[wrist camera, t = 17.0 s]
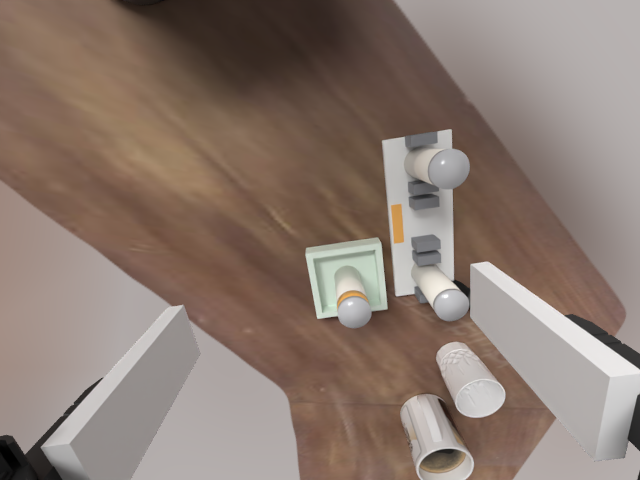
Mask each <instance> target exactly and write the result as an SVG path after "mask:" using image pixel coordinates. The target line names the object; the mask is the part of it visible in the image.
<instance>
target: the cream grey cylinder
mask: <svg viewBox="0 0 640 480" xmlns="http://www.w3.org/2000/svg"><path fill="white" fill-rule="evenodd" d="M404 169H405V171H406V173H407V174H408V175H410V176H411V177H414V178H416V179H419V180H422V181H424V182H427V183H429V184H432V185H435V186H436V187H439V188H441V189H453V188H456V187H458V186H459V185H461V184H462V183H463V182H464V181H465V179H466V178H467V176H468V174H469V170H470V164H469V160H468V158H467V156H466V155H465V154H464V153H463V152H462V151H460V150H456V149H436V148H415V149H413V150H411V151H410V152H409V153H408V154H407V155H406V157H405V160H404Z"/></svg>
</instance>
